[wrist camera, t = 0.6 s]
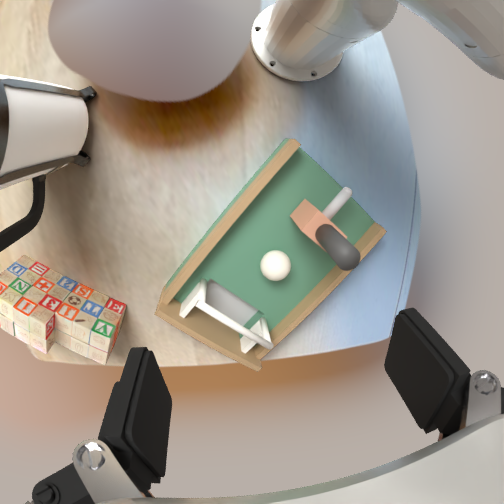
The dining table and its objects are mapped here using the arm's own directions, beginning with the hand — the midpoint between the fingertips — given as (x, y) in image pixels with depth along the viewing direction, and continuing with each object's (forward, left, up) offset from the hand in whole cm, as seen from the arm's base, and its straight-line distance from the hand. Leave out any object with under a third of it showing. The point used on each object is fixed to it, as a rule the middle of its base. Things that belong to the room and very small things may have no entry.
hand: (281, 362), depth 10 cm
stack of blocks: (+30, -13, -31) cm, 45 cm away
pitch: (+4, +9, -31) cm, 33 cm away
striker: (-6, +9, -28) cm, 30 cm away
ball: (+4, +9, -26) cm, 28 cm away
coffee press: (+8, -26, -31) cm, 41 cm away
